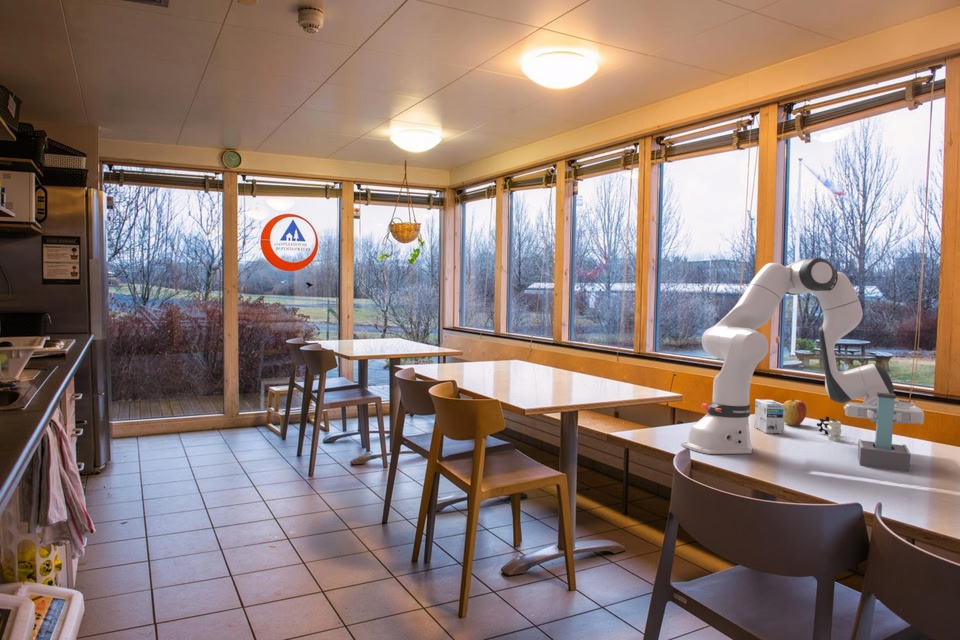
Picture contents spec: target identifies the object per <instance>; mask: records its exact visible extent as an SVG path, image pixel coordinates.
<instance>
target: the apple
mask: <svg viewBox="0 0 960 640" xmlns="http://www.w3.org/2000/svg"><path fill="white" fill-rule="evenodd" d="M782 404H784V405H785V419H784V424H786V425H788V426H795V427H796V426H799V425H801V424H802V423H803V421H804V420H805V418H806V416H807V406H806V404H805V403H804V402H803V401H801V400H798V399H794V398H792V399H789V400H786V401H784V402H783V403H782Z"/></svg>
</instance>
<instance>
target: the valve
mask: <svg viewBox="0 0 960 640" xmlns="http://www.w3.org/2000/svg"><path fill="white" fill-rule="evenodd" d="M819 421H820V423H819V422H818V423H816V427H819V429H818V431H819V433H823V432H824V435H826V434H828V435H827V439H828V441H831V440H833V441H832V442H841V435H842V429H841V427H842V421H838V420H835V419H834V418H831V419H830V417H829V416H828V415H827V416H825V419H824V418H822V417H820V418H819ZM825 422H826V423H825ZM823 425H824V427H823Z"/></svg>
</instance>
